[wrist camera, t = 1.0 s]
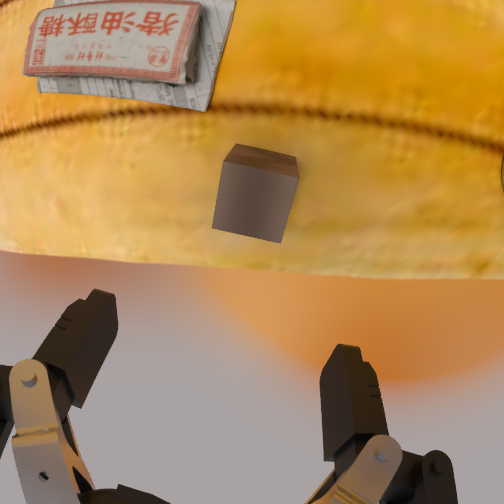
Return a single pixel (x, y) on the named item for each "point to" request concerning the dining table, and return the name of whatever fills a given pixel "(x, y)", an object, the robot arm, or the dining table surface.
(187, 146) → the dining table surface
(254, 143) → the dining table surface
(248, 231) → the walnut block
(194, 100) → the packaged product
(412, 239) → the dining table surface
